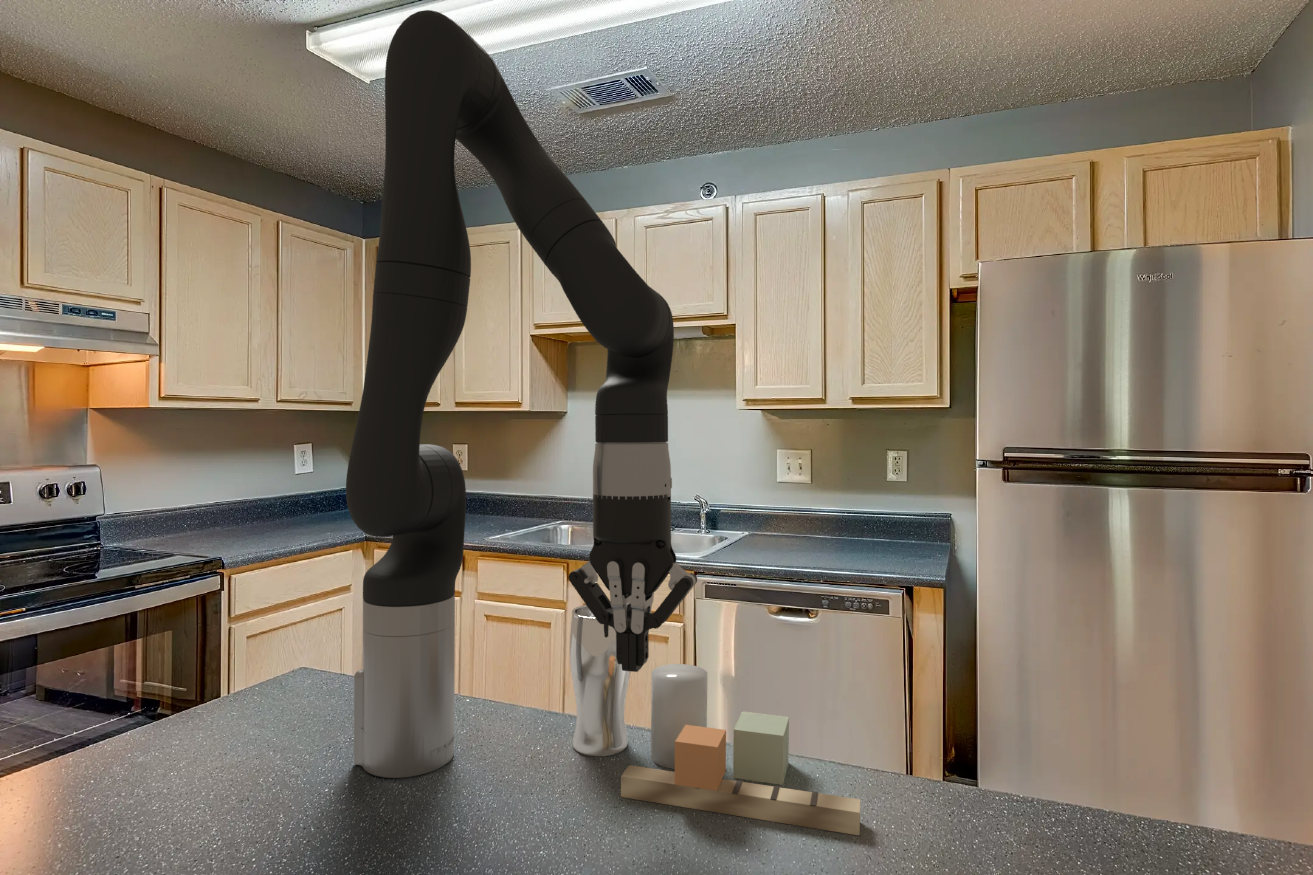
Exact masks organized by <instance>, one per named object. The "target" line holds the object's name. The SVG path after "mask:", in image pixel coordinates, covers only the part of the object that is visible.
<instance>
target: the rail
mask: <svg viewBox="0 0 1313 875" xmlns="http://www.w3.org/2000/svg"><path fill="white" fill-rule="evenodd" d="M620 797H621V798H626V799H633V800H637V801H644V802H650V803H657V804H663V805H667V806H668V805H669V806H675V807H681V808H688V809H694V810H700V811H705V812H711V813H712V812H713V813H718V814H724V815H731V816H737V817H743V818H750V819H755V820H760V821H761V820H762V821H768V822H774V823H778V824H779V823H781V824H787V825H791V826H792V825H793V826H799V827H804V828H810V829H817V830H823V831H830V832H836V833H843V834H849V835H853V836H854V835H855V836H860V834H861V833H860V831H861V829H860V828H861V798H852V797H845V796H839V795H834V794H825V793H819V791H812V792H811V791H807V790H806V791H805V790H800V789H792V788H785V787H781V785H774V786H772V785H765V784H759V783H753V782H752V783H751V782H747V781H746V782H744V781H743V780H741V779H739V780H738V779H736V780H733V779H732V780H731V779H725V778H722V781H721V783H720V785H719V788H718V790H717V791H714V790H708V789H701V788H695V787H688V786H682V785H675V771H673V770H672V771H670V770H664V769H658V768H651V767H644V766H639V765H638V766H637V765H633V764H629V765H628V766H627V768H626V769H625V770H624V771H623V773H622V774H621V776H620Z"/></svg>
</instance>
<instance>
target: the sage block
mask: <svg viewBox="0 0 1313 875" xmlns="http://www.w3.org/2000/svg"><path fill="white" fill-rule="evenodd" d="M732 741H733V742H732V743H733V746H732V747H733V749H732V750H733V751H732V752H733V755H732V756H733V758H732V760H733V761H732V766H733V767H732V778H733V779H739V780H747V781H755V782H761V783H766V784H767V783H768V784H774V785H778V786H783V785H784V781H785V778H786V774H787V771H788V767H789V756H790V754H789V747H790V746H789V744H790V742H789V741H790V716H784V715H778V714H777V715H775V714H768V713H760V712H759V713H758V712H750V711H741V713H740V716H738V719H737V721H736V723H735V726H734V728H733V740H732ZM788 755H789V756H788Z"/></svg>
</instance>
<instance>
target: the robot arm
mask: <svg viewBox="0 0 1313 875" xmlns="http://www.w3.org/2000/svg"><path fill="white" fill-rule="evenodd" d="M384 71H385V72H384V110H385V111H384V113H385V114H384V115H385V153H384V154H385V155H384V157H385V159H384V176H383V189H382V199H381V200H382V202H381V214H380V229H379V239H378V247H377V254H376V259H375V261H376V262H375V272H374V279H373V280H374V281H373V294H372V308H371V322H370V323H371V325H370V334H369V340H368V350H367V359H366V365H365V373H364V382H363V389H362V394H361V395H362V396H361V400H360V405H359V411H358V415H357V420H356V425H355V429H354V435H353V439H352V444H351V449H350V452H349V453H350V455H349V460H348V465H347V472H346V480H345V481H346V482H345V497H346V505H347V509H348V512H349V513H348V514H349V515H350V517H351V519H352V521H353V522H354V524H355V526H357V528H358V529H359V530H360V531H361V532H362V533H364V534H366V535H368V536H371V537H375V538H386V537H388V538H389V537H392V539H391V544H390V545H389V547H388V548H387V551H386V552H385V553H384V555H383V556H382V557H381V558H380V559H379V560H378V561H377V562H376V563H375V564H373V565H372V566H371V567H370V568H369V569H367V571H366V572H365V573H364V576H363V579H362V580H363V581H362V668H361V669H359V670H357V671H356V672H355V673H354V676H353V764H354V765H357V766H361V767H362V768H363V770H364V771H365V772H366V773H369V774H371V775H373V776H375V777H381V778H390V779H391V778H393V779H396V778H409V777H415V776H421V775H425V774H428V773H431V772H433V771H435V770H438V769H440V768H441V767H444V766H445V765H447V764H448V763H449V762H450V761H451V760H452V759H453V756H454V754H455V751H454V750H455V673H456V672H455V666H456V664H455V662H456V661H455V660H456V659H455V658H456V656H455V655H456V654H455V653H456V652H455V650H456V649H455V648H456V645H455V642H456V637H455V636H456V620H455V619H456V610H455V609H456V595H455V594H456V581H457V580H456V579H457V578H458V577H457V576H458V575H459V572H460V569H461V566H462V565H463V558H464V550H465V549H464V546H465V530H466V511H467V510H466V509H467V508H466V507H467V488H466V481H465V480H466V479H465V474H464V472H463V469H462V466H461V464H460V462H459V460H458V459H457V458H456V456H455V455H454V454H453V453H452V452H451V451H450V450H449V449H447V448H446V447H443V446H440V445H437V444H436V445H435V444H429V443H428V444H426V443H425V444H421V432H422V425H423V417H424V411H425V407H426V403H427V401H428V400H427V399H428V397H429V394H430V392H431V389H432V387H433V385H434V383H435V382H436V379H437V377H438V376H439V374H440V373H441V371H442V369H443V367H444V365H446V362H447V361H448V359H449V358H450V356H451V354H452V353H453V351H454V349H455V346H457V343H458V341H459V339H460V337H461V334H462V333H463V330H464V327H465V322H466V319H467V312H468V305H469V295H470V286H471V276H472V275H471V274H472V257H471V255H472V254H471V246H470V241H469V240H470V239H469V235H468V230H467V225H466V222H465V221H466V220H465V217H464V213H463V209H462V205H461V201H460V197H459V191H458V185H457V179H456V178H457V177H456V171H455V169H456V168H455V154H456V153H455V148H456V141H458V142H459V143H460V144H461V146H463V147H464V148H465V149H466V150H467V151H469V153H470V154H471V155H472V156H474V158H476V159H477V161H478V162H479V163H480V164H481V166H483V167H484V168H485V170H486V171H487V172H488V174H489V175H490V177H491V178H492V179H493V181H494V183H495V185H496V186H497V187H498V190H499V191H500V193H501V196H502V198H503V200H504V203H505V205H506V207H507V209H508V211H509V213H510V215H511V217H512V219H513V222H514V223H515V224H516V227H517V228H518V229H519V231H520V232H521V234H522V236H523V237H524V238H525V240H526V241H527V243H528V244H529V245H530V247H531V248H532V249H533V250H534V252H535V253H536V254H537V256H538V257H539V259H540V260H541V261H542V262H543V264H544V265H545V266H546V268H547V269H548V270H549V272H550V273H551V274H552V275H553V276H554V277H555V279H556V280H558V282H559V284H560V286H561V288H562V290H563V293H564V294H565V296H566V298H567V299H568V302H569V304H570V305H571V307H572V308H573V310H574V312H575V314H576V316H577V317H578V319H579V320H580V322H581V324H582V325H583V327H584V328H585V329H586V330H587V332H588V333H589V334H590V336H592V338H594V340H595V341H596V342H597V343H598V344H599V345H601V346H602V347H603V348H605V349H606V350H607V354H606V355H607V359H606V372H605V373H606V374H605V375H606V376H605V380H604V383H603V384H602V385H601V386H600V387H599V388H598V390H597V393H596V397H595V404H594V405H595V407H594V414H595V418H594V419H595V421H594V424H595V426H594V427H595V428H594V429H595V433H594V434H595V435H594V436H595V438H594V439H595V443H594V445H595V446H594V454H593V455H594V456H593V462H592V463H593V464H592V536H593V545H592V547H591V548H592V549H591V550H590V552H589V556H588V561H587V562H586V563H584V564H583V565H582V566H580V567H579V568H576V569H575V570H572V571H571V572H570V573H568V581H569V582H570V584H571V585H572V586H573V588H574V590H575V591H576V592H577V594H578V595H579V596H580V598H581V599H582V601H583V602H584V605H587V607H588V608H589V609H590V611H591V612H592V614H593V615H594V617H595V618H596V619H597V621H598V622H599V623H600V624H607V625H609V626H611V627H613V628H614V630H615V631H616V659H617V662H618V664H622V670H623V671H631V672H635V673H638V672H639V671H640V670H641V669H642V667H644V665H645V664H646V663H647V662H648V660H649V655H650V654H649V652H650V651H649V645H650V644H649V640H650V639H649V633H650V632H649V631H650V630H652V629H659V628H661V626H662V625H663V624H665V622H667V620H669V618H670V617H671V615H672V614H673V613H674V612H675V610H676V609H677V608H678V607H679V605H680V604H681V603H682V602H683V600H684V599H685V598H686V596H687V595H688V594H689V593H690V591H691V590H692V589H693V588H694V587H695V585H697V582H698V577H697V575H696V574H695V573H693V572H689V573H688V572H687V570H685V569H684V568H683V567H681V566H680V565H679V563H677V555H676V553H675V551H674V549H673V545H672V489H673V478H672V469H671V468H672V466H671V465H672V464H671V458H670V451H669V443H668V442H669V413H668V412H669V409H668V406H669V405H668V389H669V388H668V387H669V383H670V376H671V369H672V361H673V354H674V341H675V339H674V338H675V334H674V333H675V328H674V317H673V313H672V310H671V308H670V306H669V303H668V301H667V300H666V299H665V298H664V297H663V295H661V294H660V293H659V292H657V291H656V290H654V288H652V287H651V286H649V284H648V283H647V282H646V281H645V280H644V279H643V278H642V277H641V276H640V274H638V272H637V271H636V270H635V269H634V267H633V266H632V265H631V264H630V263H629V261H628V260H627V259H626V257H625V256H624V255H623V254H622V253H621V252H620V250H619V249H618V248H617V244H616V241H615V238H614V237H613V235H612V233H611V232H610V230H609V229H608V227H607V226H606V224H605V223H604V222H603V220H602V219H601V217H600V216H599V215H598V214H597V213H596V211H595V210H594V209H593V208H592V206H591V205H590V203H589V202H588V201H587V200H586V198H585V197H584V196H583V194H582V193H581V192H580V191H579V190H578V188H577V187H576V186H575V184H573V182H572V181H571V180H570V178H568V176H567V175H566V174H565V172H563V171H562V169H561V168H560V167H559V166H558V164H557V163H556V162H555V161H554V160H553V157H551V156H550V154H548V152H547V151H546V150H545V148H544V146H543V145H542V144H541V143H540V142H539V140H538V138H537V137H536V135H535V134H534V132H533V131H532V129H531V128H530V126H529V124H528V122H527V121H526V119H525V118H524V116H523V113H522V112H521V111H520V108H519V106H518V105H517V102H516V101H515V99H514V97H513V94H512V93H511V91H510V90H509V87H508V85H507V84H506V83H507V82H505V80H504V78H503V75H502V74H501V72H500V70H499V67H498V66H497V64H496V63H495V61H494V59H493V58H492V56H491V55H490V54H489V53H488V52H487V51H486V50H485V49H484V48H483V47H482V46H481V45H480V44H479V43H478V42H477V41H476V40H475V39H474V38H473V37H472V36H471V35H470V34H469V33H468V32H467V31H466V30H465V29H464V28H462V26H460V25H459V23H457V22H456V21H455V20H453V19H452V18H450V17H448V16H447V15H445V14H443V13H442V12H438V11H435V10H432V9H426V10H419V11H416V12H414V13H413V14H411V15H409V16H407V18H405V19H404V20H402V22H401V23H400V25H399V26H398V27H397V29H396V31H395V32H394V35H393V36H392V38H391V40H390V44H389V47H388V50H387V54H386V60H385V70H384ZM668 575H669V576H670V578H669V581H668V585H667V586H668V588H669V590H671V591H670V592H669V594H668V595H667V596H666V597H665V599H664V600H663V601H662V602H661V603H660V605H659V606H658V607H657V608H656V610H655V611H654V612H652V607H653V604H654V603H653V602H654V598H655V592H656V591H657V590H658V589H659V588H660V587H661V585H662V584H663V582H664V581H665V580H666V578H667V577H668ZM599 579H600V580H601V582H602V583H603V585H604V587H605V588H606V589H607V590H608V592H609V597H610V599H609V597H608V596H607V594H606V593H605V592H604V590H603V589H602V587H601V586H600V584H599V582H598V581H599Z"/></svg>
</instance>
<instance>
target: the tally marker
mask: <svg viewBox="0 0 1313 875" xmlns="http://www.w3.org/2000/svg"><path fill="white" fill-rule="evenodd" d="M726 760H727V729H721V728H714V727H708V726H707V727H700V726H692V725H685V727H684V728H683V730H682V731H681V733H680V734H679V736H678V737H677V739H676V741H675V769H674V772H675V785H682V786H688V787H695V788H701V789H708V790H714V791H717V790H718V788H719V785H720V783H721V781H722V779H724V778H723V777H724V776H725V774H726V771H727V769H726V767H727V763H726Z"/></svg>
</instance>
